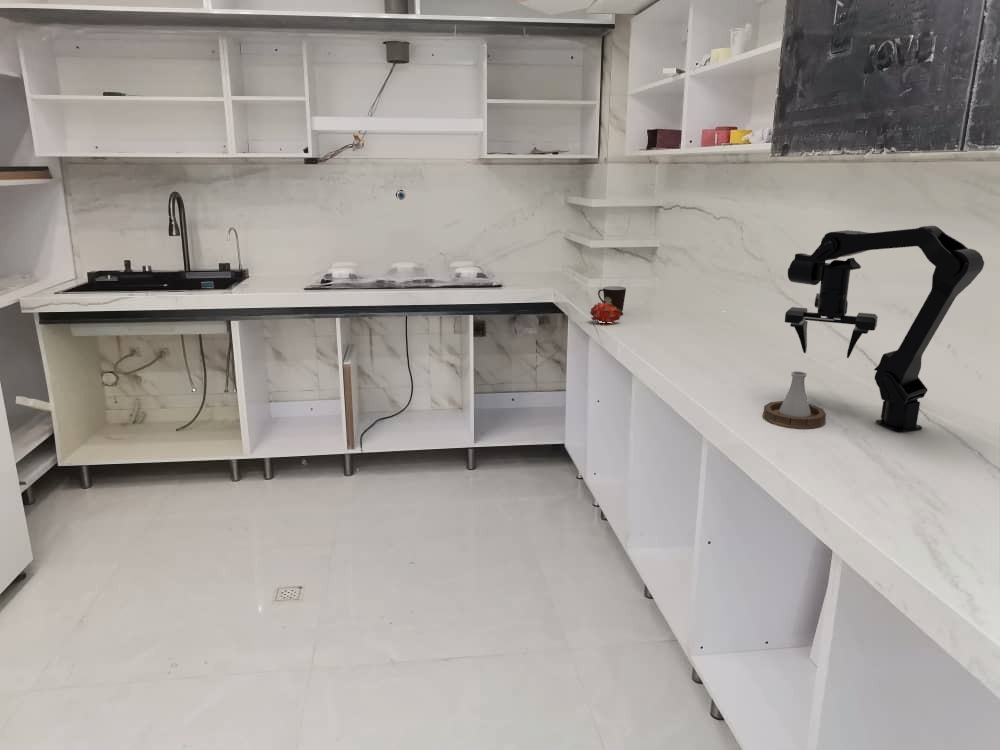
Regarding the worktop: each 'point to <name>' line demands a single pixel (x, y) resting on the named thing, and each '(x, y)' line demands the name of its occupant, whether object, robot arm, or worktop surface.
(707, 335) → the worktop surface
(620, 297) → the coffee mug
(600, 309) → the dragon fruit
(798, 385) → the flask
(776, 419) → the round wooden tray
